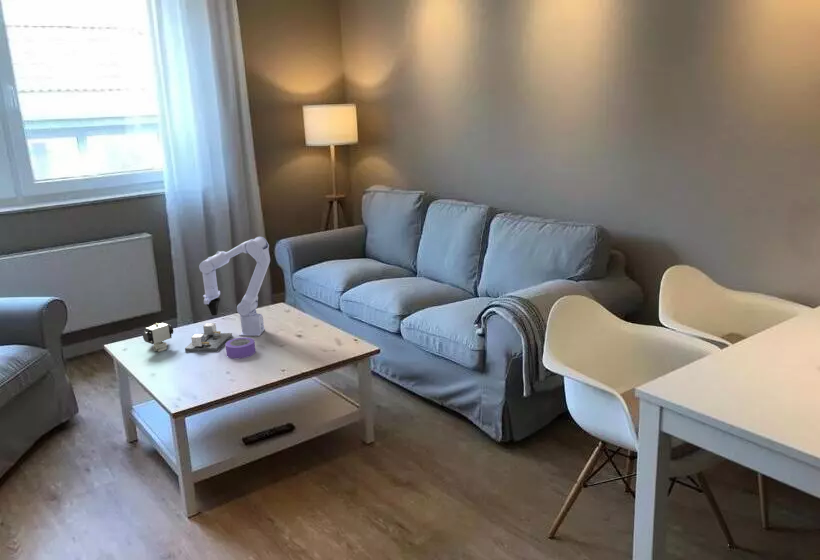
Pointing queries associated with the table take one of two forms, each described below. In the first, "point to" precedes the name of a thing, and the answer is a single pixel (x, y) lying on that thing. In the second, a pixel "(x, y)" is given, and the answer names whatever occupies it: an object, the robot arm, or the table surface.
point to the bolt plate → (207, 342)
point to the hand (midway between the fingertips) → (214, 314)
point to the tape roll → (240, 347)
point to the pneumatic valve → (158, 335)
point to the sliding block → (210, 329)
